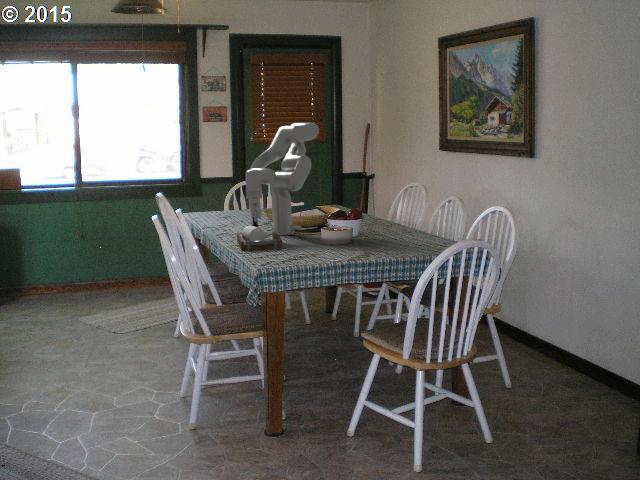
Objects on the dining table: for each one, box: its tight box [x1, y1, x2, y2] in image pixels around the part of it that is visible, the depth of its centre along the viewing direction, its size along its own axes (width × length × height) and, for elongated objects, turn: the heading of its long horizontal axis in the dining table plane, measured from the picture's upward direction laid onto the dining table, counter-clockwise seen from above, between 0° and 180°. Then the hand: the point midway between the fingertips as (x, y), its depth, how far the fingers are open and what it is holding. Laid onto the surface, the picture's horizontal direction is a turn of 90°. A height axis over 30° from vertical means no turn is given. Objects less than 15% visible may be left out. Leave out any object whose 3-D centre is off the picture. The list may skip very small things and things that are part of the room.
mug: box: [241, 224, 271, 243], centre depth 365 cm, size 12×10×8 cm
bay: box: [236, 230, 283, 252], centre depth 358 cm, size 18×30×4 cm, turn 10°
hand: (254, 232), depth 375 cm, fingers closed
